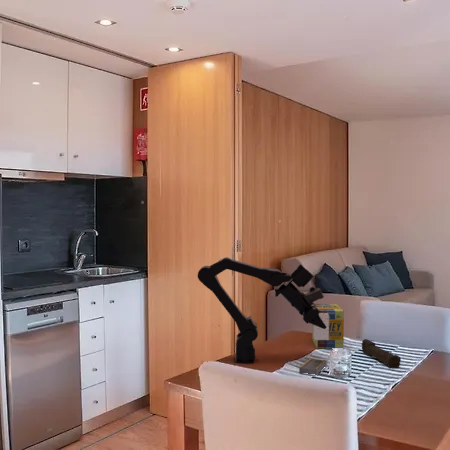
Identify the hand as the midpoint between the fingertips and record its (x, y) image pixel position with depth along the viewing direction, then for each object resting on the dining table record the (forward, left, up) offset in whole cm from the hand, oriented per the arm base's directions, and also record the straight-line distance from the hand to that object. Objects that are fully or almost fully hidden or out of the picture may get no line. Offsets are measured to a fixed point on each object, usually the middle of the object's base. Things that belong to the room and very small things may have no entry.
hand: (324, 326), depth 190 cm
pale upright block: (-1, 0, -4) cm, 5 cm away
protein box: (+6, +23, -13) cm, 27 cm away
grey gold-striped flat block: (-6, -10, -12) cm, 17 cm away
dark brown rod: (+19, +2, -13) cm, 23 cm away
